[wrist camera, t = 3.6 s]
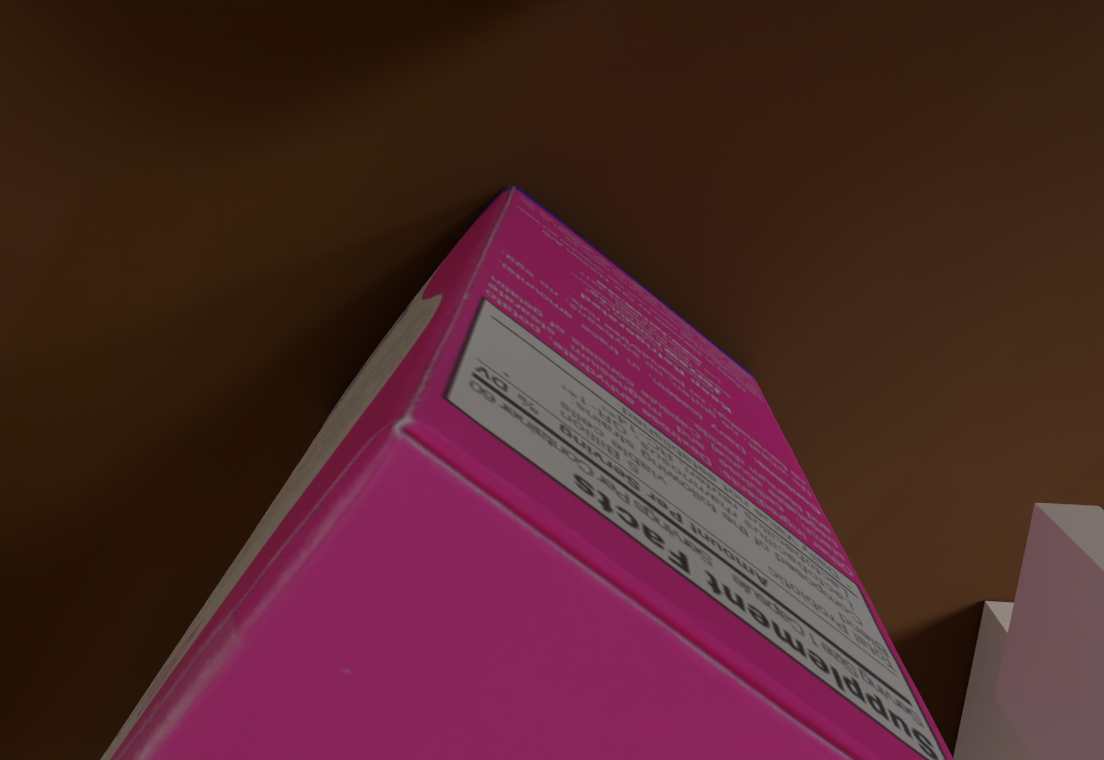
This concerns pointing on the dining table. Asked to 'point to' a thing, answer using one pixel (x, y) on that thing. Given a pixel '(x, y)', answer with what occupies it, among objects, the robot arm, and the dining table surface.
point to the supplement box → (539, 551)
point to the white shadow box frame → (988, 696)
